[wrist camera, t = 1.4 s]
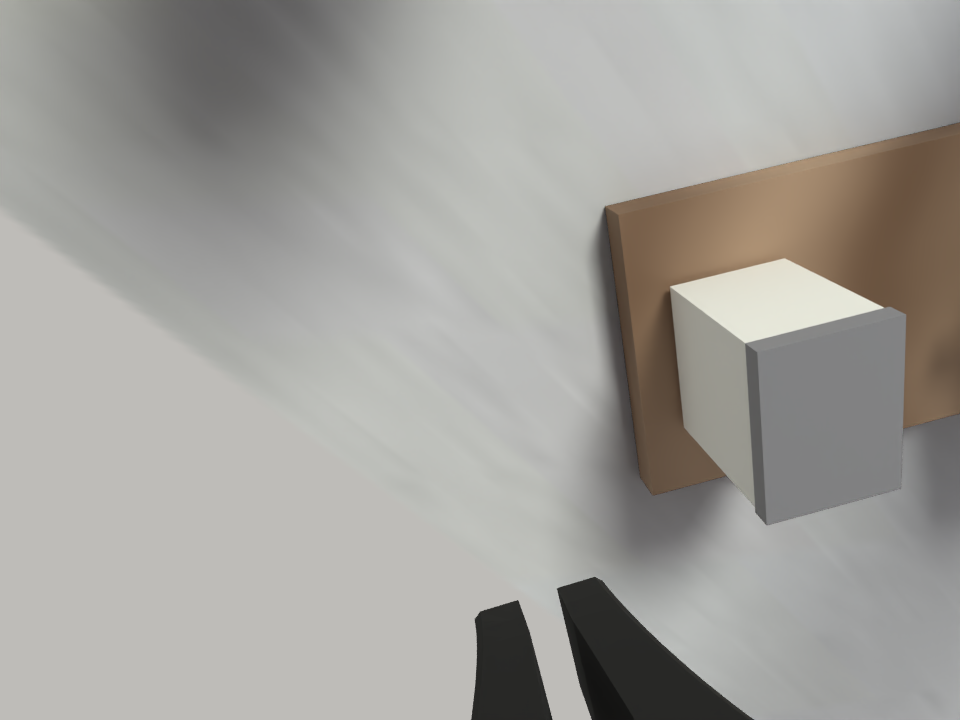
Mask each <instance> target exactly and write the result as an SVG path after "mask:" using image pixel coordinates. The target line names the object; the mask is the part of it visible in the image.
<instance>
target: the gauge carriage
mask: <svg viewBox="0 0 960 720" xmlns="http://www.w3.org/2000/svg"><path fill="white" fill-rule="evenodd" d="M670 293H671V303H672V313H673V323H674V333H675V343H676V353H677V363H678V373H679V383H680V393H681V403H682V413H683V423H684V428H685V429H686V430H687V432H688V433H689V434H690V435H691V436H692V437H693V438H694V439H695V441H696V442H697V443H698V444H699V445H700V446H701V447H702V448H703V449H704V451H705V452H706V453H707V454H708V455H709V456H710V457H711V458H712V460H713V461H714V462H715V463H716V464H717V465H718V466H719V467H720V469H721V470H722V471H723V472H724V473H725V474H726V475H727V476H728V478H729V479H730V480H731V481H732V482H733V483H734V484H735V485H736V487H737V488H738V489H739V490H740V491H741V492H742V493H743V494H744V496H745V497H746V498H747V499H748V500H749V501H750V502H751V503H752V504H753V506H754V507H755V513H756V514H757V515H758V516H759V517H760V518H761V519H762V521H763V522H764V523H765V524H766V525H770V524H774V523H777V522H781V521H785V520H788V519H792V518H796V517H799V516H803V515H807V514H810V513H814V512H818V511H821V510H825V509H829V508H832V507H836V506H839V505H843V504H847V503H850V502H854V501H858V500H861V499H865V498H869V497H872V496H876V495H880V494H883V493H887V492H891V491H894V490H898V489H901V479H902V444H903V409H904V374H905V339H906V314H904V313H902V312H900V311H898V310H896V309H894V308H892V307H886V308H884V307H882V306H880V305H878V304H876V303H874V302H872V301H870V300H868V299H866V298H864V297H862V296H860V295H858V294H856V293H854V292H852V291H850V290H848V289H846V288H844V287H842V286H840V285H838V284H836V283H833V282H831V281H829V280H827V279H825V278H823V277H821V276H819V275H817V274H815V273H813V272H811V271H809V270H807V269H805V268H803V267H801V266H799V265H797V264H795V263H793V262H791V261H789V260H787V259H785V258H784V259H780V260H776V261H772V262H768V263H763V264H759V265H755V266H751V267H747V268H743V269H739V270H735V271H731V272H727V273H723V274H719V275H715V276H711V277H707V278H703V279H698V280H694V281H690V282H686V283H682V284H678V285H674V286H670Z"/></svg>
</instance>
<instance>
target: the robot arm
mask: <svg viewBox="0 0 960 720" xmlns="http://www.w3.org/2000/svg"><path fill="white" fill-rule="evenodd" d="M557 590H558V595H559V599H560V603H561V607H562V612H563V616H564V620H565V624H566V629H567V633H568V637H569V641H570V645H571V650H572V654H573V658H574V662H575V666H576V671H577V675H578V679H579V683H580V687H581V690H582V693H583V696H584V698H585V701H586V704H587V707H588V710H589V713H590V716H591V719H592V720H754V719H752V718H751V717H749V716H748V715H747V714H745V713H744V712H743V711H741V710H740V709H739V708H737V707H736V706H735V705H733V704H732V703H731V702H730V701H728V700H727V699H726V698H725V697H723V696H722V695H721V694H720V693H718V692H717V691H716V690H714V689H713V688H712V687H711V686H709V685H708V684H707V683H706V682H705V681H703V680H702V679H701V678H700V677H699V676H697V675H696V674H695V673H694V672H693V671H692V670H690V669H689V668H688V667H687V666H686V665H685V664H684V663H682V662H681V661H680V660H679V659H678V658H677V657H676V656H675V655H674V654H672V653H671V652H670V651H669V650H668V649H667V648H666V647H665V646H664V645H662V644H661V643H660V642H659V641H658V640H657V639H656V638H655V637H654V636H653V635H652V634H651V633H650V632H649V631H648V630H647V629H646V628H645V627H644V626H643V625H642V624H641V623H640V622H639V621H638V620H637V619H636V618H635V617H634V616H633V615H632V614H631V613H630V612H629V611H628V610H627V609H626V608H625V607H624V606H623V605H622V603H621V602H620V601H619V600H618V599H617V598H616V597H615V596H614V594H613V593H612V592H611V591H610V590H609V588H608V587H607V586H606V585H605V583H604V582H603V581H602V580H600V579H598V578H596V577H593V578H590V579H586V580H583V581H580V582H576V583H573V584H570V585H566V586H563V587H560V588H557ZM475 624H476V633H477V667H476V684H475V693H474V702H473V710H472V719H471V720H552V716H551V712H550V708H549V704H548V701H547V697H546V693H545V689H544V685H543V682H542V678H541V674H540V670H539V666H538V662H537V659H536V655H535V651H534V647H533V643H532V639H531V636H530V632H529V629H528V627H527V623H526V621H525V618H524V615H523V612H522V609H521V607H520V604H519V601H518V600H517V601H514V602H510V603H507V604H504V605H500V606H497V607H494V608H491V609H487V610H484V611H481V612H480V613H479V614H478V616H477V617H476V619H475Z"/></svg>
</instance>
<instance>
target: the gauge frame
mask: <svg viewBox="0 0 960 720" xmlns="http://www.w3.org/2000/svg"><path fill="white" fill-rule="evenodd" d="M605 209H606V217H607V225H608V233H609V240H610V248H611V256H612V263H613V271H614V279H615V287H616V294H617V302H618V310H619V317H620V325H621V333H622V341H623V348H624V356H625V364H626V371H627V379H628V387H629V395H630V402H631V410H632V418H633V425H634V433H635V441H636V449H637V456H638V464H639V472H640V478H641V479H642V481H643V482H644V483H645V485H646V486H647V488H648V489H649V491H650V492H651V494H652V495H657V494H661V493H665V492H668V491H672V490H676V489H680V488H683V487H687V486H691V485H695V484H698V483H702V482H706V481H710V480H713V479H717V478H721V477H724V476H727V475H726V474H725V473H724V472H723V471H722V470H721V469H720V467H719V466H718V465H717V464H716V463H715V462H714V461H713V460H712V458H711V457H710V456H709V455H708V454H707V453H706V452H705V451H704V449H703V448H702V447H701V446H700V445H699V444H698V443H697V442H696V441H695V439H694V438H693V437H692V436H691V435H690V434H689V433H688V432H687V430H686V429H685V428H684V423H683V413H682V403H681V393H680V383H679V373H678V363H677V353H676V343H675V333H674V323H673V313H672V303H671V293H670V286H674V285H678V284H682V283H686V282H690V281H694V280H698V279H703V278H707V277H711V276H715V275H719V274H723V273H727V272H731V271H735V270H739V269H743V268H747V267H751V266H755V265H759V264H763V263H768V262H772V261H776V260H780V259H784V258H785V259H787V260H789V261H791V262H793V263H795V264H797V265H799V266H801V267H803V268H805V269H807V270H809V271H811V272H813V273H815V274H817V275H819V276H821V277H823V278H825V279H827V280H829V281H831V282H833V283H836V284H838V285H840V286H842V287H844V288H846V289H848V290H850V291H852V292H854V293H856V294H858V295H860V296H862V297H864V298H866V299H868V300H870V301H872V302H874V303H876V304H878V305H880V306H882V307H884V308H886V307H892V308H894V309H896V310H898V311H900V312H902V313H904V314H906V339H905V374H904V409H903V429H904V428H907V427H911V426H915V425H919V424H922V423H926V422H930V421H934V420H937V419H941V418H945V417H949V416H952V415H956V414H960V123H956V124H952V125H948V126H944V127H939V128H935V129H931V130H927V131H923V132H918V133H914V134H910V135H906V136H901V137H897V138H893V139H889V140H884V141H880V142H876V143H872V144H867V145H863V146H859V147H855V148H850V149H846V150H842V151H838V152H833V153H829V154H825V155H821V156H817V157H812V158H808V159H804V160H800V161H795V162H791V163H787V164H783V165H778V166H774V167H770V168H766V169H761V170H757V171H753V172H749V173H744V174H740V175H736V176H732V177H727V178H723V179H719V180H715V181H711V182H706V183H702V184H698V185H694V186H689V187H685V188H681V189H677V190H672V191H668V192H664V193H660V194H655V195H651V196H647V197H643V198H638V199H634V200H630V201H626V202H621V203H617V204H613V205H609V206H605Z"/></svg>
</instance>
